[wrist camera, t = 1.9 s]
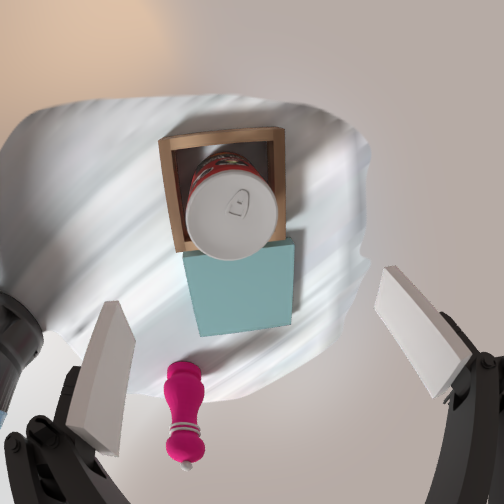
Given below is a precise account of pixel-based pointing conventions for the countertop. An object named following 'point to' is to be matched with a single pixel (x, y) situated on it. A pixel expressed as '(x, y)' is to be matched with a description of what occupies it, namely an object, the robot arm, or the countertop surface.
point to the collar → (172, 143)
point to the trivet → (242, 289)
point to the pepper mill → (184, 413)
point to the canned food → (230, 208)
